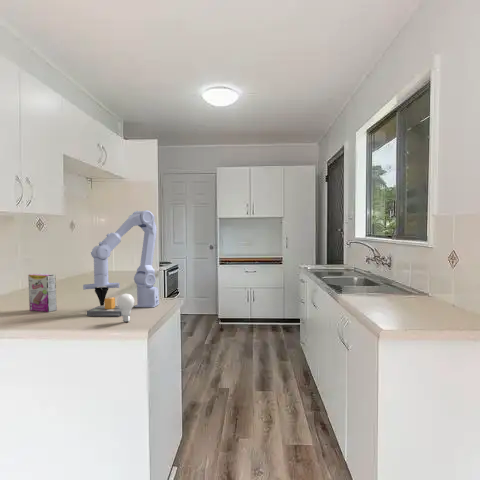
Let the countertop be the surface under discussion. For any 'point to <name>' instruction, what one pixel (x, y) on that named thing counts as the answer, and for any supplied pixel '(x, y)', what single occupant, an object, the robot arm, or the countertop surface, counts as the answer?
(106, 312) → the breaker panel
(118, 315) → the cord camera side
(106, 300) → the knob
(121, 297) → the lightbulb
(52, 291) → the candy bar box
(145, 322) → the countertop surface
